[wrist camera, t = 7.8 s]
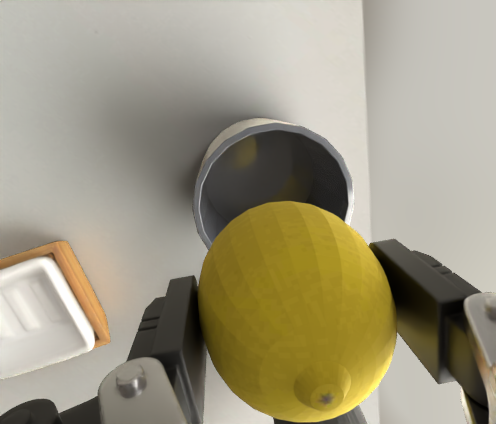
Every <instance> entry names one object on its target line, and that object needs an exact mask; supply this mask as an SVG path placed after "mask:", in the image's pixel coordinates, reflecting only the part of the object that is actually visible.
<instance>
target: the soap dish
mask: <svg viewBox="0 0 496 424" xmlns="http://www.w3.org/2000/svg"><path fill="white" fill-rule="evenodd" d="M108 343H110V335H109V330H108V324H107V319H106V315H105V313H104V311H103V309H102V307H101V305H100V303H99V301H98V299H97V297H96V295H95V293H94V291H93V289H92V287H91V285H90V283H89V281H88V279H87V278H86V276H85V274H84V272H83V270H82V268H81V266H80V264H79V262H78V260H77V258H76V256H75V254H74V253H73V251H72V249H71V247H70V245H69V243H68V241H55V242H52V243H49V244H46V245H43V246H40V247H37V248H34V249H31V250H28V251H25V252H22V253H19V254H16V255H12V256H9V257H7V258H3V259H1V260H0V380H3V379H6V378H10V377H13V376H16V375H19V374H23V373H26V372H29V371H32V370H35V369H39V368H42V367H45V366H48V365H52V364H55V363H58V362H61V361H64V360H67V359H70V358H73V357H76V356H79V355H81V354H84V353H86V352H88V351H90V350H91V349H94V348H97V347H100V346H103V345H106V344H108Z"/></svg>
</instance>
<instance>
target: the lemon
mask: <svg viewBox="0 0 496 424" xmlns="http://www.w3.org/2000/svg"><path fill="white" fill-rule="evenodd" d="M198 311H199V322H200V328H201V332H202V335H203V338H204V341H205V344H206V347H207V349H208V352H209V355H210V358H211V360H212V362H213V365H214V367H215V369H216V370H217V372H218V373H219V375H220V376H221V377H222V379H223V380H224V381H225V383H226V384H227V385H228V387H229V388H230V389H231V391H232V392H233V393H235V394H236V395H237V396H238V397H239V398H240V399H242V400H243V401H244V402H246V403H247V404H248V405H250V406H251V407H252V408H254V409H256V410H258V411H260V412H262V413H265V414H267V415H269V416H272V417H274V418H276V419H280V420H286V421H292V422H319V421H323V420H328V419H332V418H335V417H337V416H339V415H342V414H344V413H346V412H348V411H350V410H351V409H353V408H354V407H356V406H357V405H359V404H360V403H361V402H363V401H364V400H365V399H366V398H367V397H368V396H369V395H370V394H371V393H372V391H373V390H374V389H375V388H376V387H377V386H378V385H379V383H380V381H381V380H382V378H383V376H384V374H385V373H386V371H387V369H388V367H389V365H390V363H391V360H392V356H393V352H394V349H395V344H396V338H397V314H396V306H395V302H394V299H393V296H392V293H391V289H390V286H389V283H388V280H387V277H386V275H385V272H384V270H383V268H382V266H381V264H380V262H379V261H378V259H377V258H376V256H375V255H374V254H373V252H372V251H371V249H370V248H369V246H368V245H367V243H366V242H365V241H364V239H363V238H362V237H361V236H360V235H359V234H358V233H357V232H356V231H355V230H354V229H352V228H351V227H350V226H349V225H347V224H346V223H345V222H344V221H343V220H341V219H340V218H339V217H338V216H336V215H334V214H332V213H330V212H328V211H326V210H323V209H321V208H319V207H316V206H314V205H311V204H306V203H299V202H293V201H282V202H271V203H266V204H263V205H260V206H257V207H254V208H251V209H248V210H247V211H245V212H244V213H242V214H241V215H239V216H238V217H236V218H235V219H233V220H232V221H231V222H230V223H229V224H228V225H227V226H226V227H225V228H224V229H223V230H222V231H221V232H220V233H219V235H218V236H217V237H216V238H215V240H214V242H213V244H212V246H211V248H210V250H209V251H208V253H207V255H206V257H205V259H204V262H203V266H202V271H201V275H200V280H199V285H198Z"/></svg>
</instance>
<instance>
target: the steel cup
mask: <svg viewBox="0 0 496 424" xmlns="http://www.w3.org/2000/svg"><path fill="white" fill-rule="evenodd" d="M282 201H293V202H299V203H306V204H311V205H314V206H316V207H319V208H321V209H323V210H326V211H328V212H330V213H332V214H334V215H336V216H338V217H339V218H340V219H341V220H343V221H344V222H345V223H346V224H347V225H349V224H350V220H351V216H352V212H353V208H354V193H353V180H352V177H351V175H350V173H349V170H348V168H347V166H346V164H345V161H344V159H343V157H342V156H341V155H340V154H339V153H338V151H337V150H336V149H335V148H334V147H333V146H332V145H331V144H330V143H329V142H328V141H327V140H326V139H325V138H324V137H322V136H320V135H318V134H316V133H314V132H312V131H310V130H308V129H307V128H305V127H302V126H299V125H295V124H291V123H287V122H283V121H279V120H273V119H266V118H254V119H247V120H243V121H239V122H238V123H235V124H233V125H232V126H230V127H228V128H227V129H225V130H223V131H222V132H221V133H220V134H219V135H218V136H217V137H216V138H215V140H214V141H213V142H212V143H211V144H210V146H209V148H208V150H207V152H206V154H205V157H204V159H203V161H202V164H201V167H200V170H199V174H198V177H197V180H196V183H195V190H194V199H193V214H194V218H195V223H196V227H197V231H198V234H199V236H200V237H201V239H202V241H203V242H204V244H205V245H206V247H207V249H208V250H210V248H211V246H212V244H213V242H214V240H215V238H216V237H217V236H218V235H219V233H220V232H221V231H222V230H223V229H224V228H225V227H226V226H227V225H228V224H229V223H230V222H231V221H232V220H233V219H235V218H236V217H238V216H239V215H241V214H242V213H244V212H245V211H247V210H248V209H251V208H254V207H257V206H260V205H263V204H266V203H271V202H282Z"/></svg>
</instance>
